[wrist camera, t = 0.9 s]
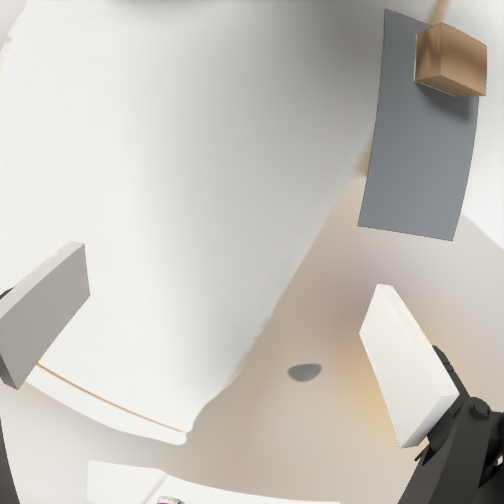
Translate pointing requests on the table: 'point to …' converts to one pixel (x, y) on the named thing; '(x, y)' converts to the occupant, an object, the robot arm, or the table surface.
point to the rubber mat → (416, 145)
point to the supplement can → (168, 500)
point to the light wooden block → (450, 61)
